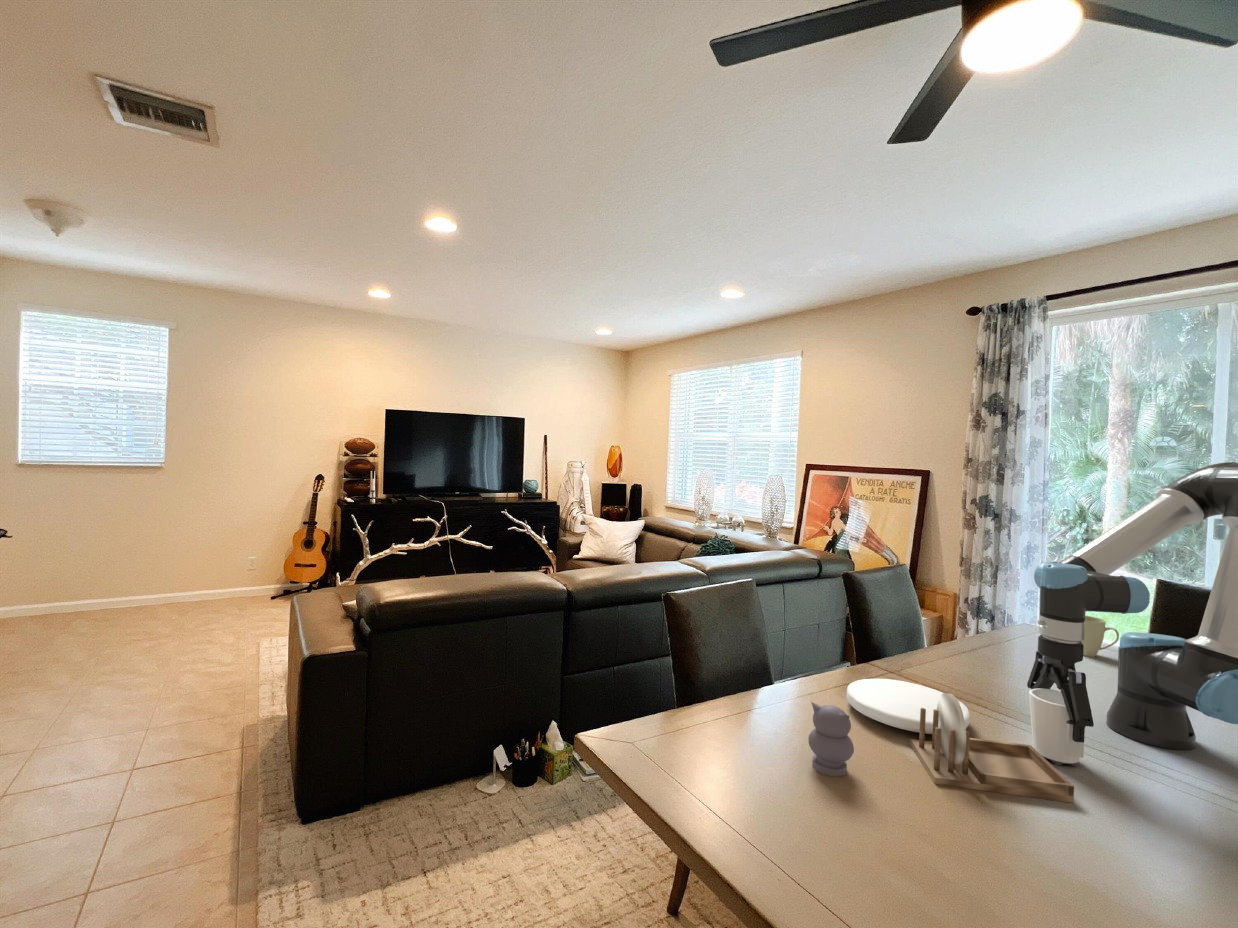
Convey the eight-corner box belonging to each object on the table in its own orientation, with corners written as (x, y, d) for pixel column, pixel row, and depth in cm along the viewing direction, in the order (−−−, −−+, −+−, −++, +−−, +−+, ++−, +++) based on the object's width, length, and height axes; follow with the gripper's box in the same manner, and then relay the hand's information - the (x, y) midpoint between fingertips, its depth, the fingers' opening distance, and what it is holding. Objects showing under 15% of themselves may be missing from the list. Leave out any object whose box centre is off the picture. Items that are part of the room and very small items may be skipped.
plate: (837, 669, 153) (945, 681, 148) (836, 694, 153) (945, 707, 147) (860, 700, 126) (993, 716, 121) (859, 730, 125) (993, 748, 120)
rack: (1029, 759, 118) (1032, 691, 118) (1073, 802, 103) (1076, 724, 103) (910, 744, 122) (912, 678, 122) (934, 783, 107) (937, 708, 107)
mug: (1081, 658, 185) (1083, 621, 185) (1063, 648, 195) (1064, 613, 195) (1119, 661, 183) (1121, 624, 183) (1099, 651, 193) (1100, 616, 193)
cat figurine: (859, 769, 112) (862, 708, 111) (842, 784, 106) (845, 720, 106) (818, 752, 118) (820, 694, 117) (800, 765, 112) (802, 705, 112)
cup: (1082, 755, 120) (1084, 695, 120) (1089, 776, 112) (1092, 712, 112) (1024, 741, 126) (1027, 684, 126) (1027, 760, 117) (1030, 699, 117)
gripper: (1012, 620, 132) (1008, 712, 132) (1074, 655, 107) (1069, 768, 108) (1048, 623, 130) (1044, 716, 130) (1120, 659, 106) (1115, 774, 106)
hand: (1055, 740), depth 119 cm, fingers open, 12 cm apart
